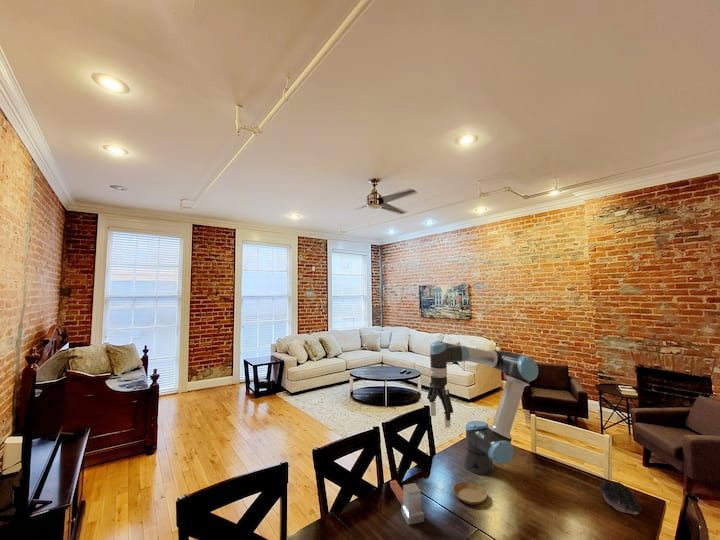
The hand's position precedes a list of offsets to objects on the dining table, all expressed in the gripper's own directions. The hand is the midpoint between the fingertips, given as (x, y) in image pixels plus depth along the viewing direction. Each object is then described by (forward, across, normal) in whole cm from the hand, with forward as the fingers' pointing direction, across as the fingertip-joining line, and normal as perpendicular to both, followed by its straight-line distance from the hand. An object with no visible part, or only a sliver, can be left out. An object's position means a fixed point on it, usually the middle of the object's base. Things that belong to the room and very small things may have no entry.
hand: (439, 421), depth 150 cm
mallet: (+33, +1, -20) cm, 38 cm away
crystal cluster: (+33, +29, +72) cm, 84 cm away
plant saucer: (+33, +6, +11) cm, 35 cm away
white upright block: (+30, +11, -20) cm, 38 cm away
